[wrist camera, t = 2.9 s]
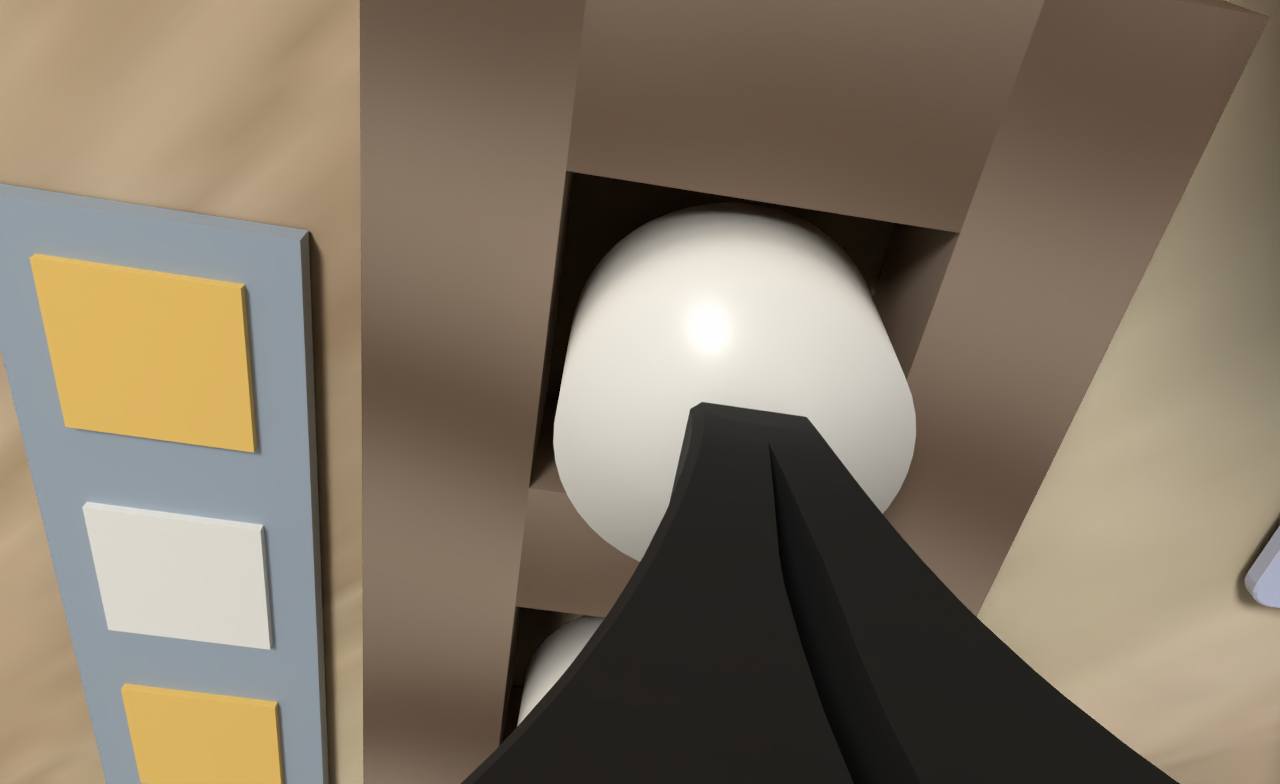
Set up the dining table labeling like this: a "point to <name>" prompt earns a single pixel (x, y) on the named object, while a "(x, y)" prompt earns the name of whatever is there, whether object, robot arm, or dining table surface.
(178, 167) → the dining table surface
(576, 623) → the button
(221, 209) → the dining table surface
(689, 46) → the button board
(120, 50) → the dining table surface
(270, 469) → the pattern card
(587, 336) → the button
